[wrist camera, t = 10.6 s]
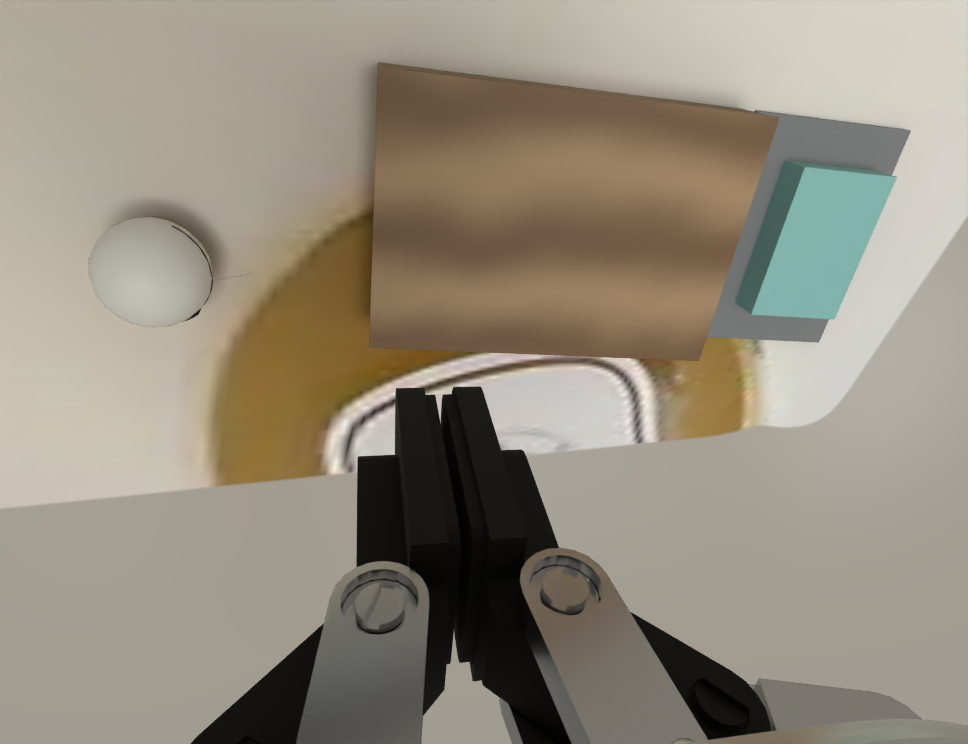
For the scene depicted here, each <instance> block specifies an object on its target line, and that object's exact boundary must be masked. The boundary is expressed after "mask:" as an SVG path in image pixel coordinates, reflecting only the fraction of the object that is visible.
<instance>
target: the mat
mask: <svg viewBox="0 0 968 744" xmlns="http://www.w3.org/2000/svg"><path fill="white" fill-rule="evenodd" d="M755 112H757V113H761V114H766V115H770V116H775V117H779V118H780V119H779V122H778V125H777V128H776V131H775V134H774V137H773V140H772V143H771V146H770V149H769V152H768V155H767V158H766V161H765V164H764V167H763V170H762V173H761V176H760V179H759V182H758V185H757V188H756V191H755V194H754V197H753V200H752V203H751V206H750V209H749V212H748V215H747V218H746V221H745V224H744V227H743V230H742V233H741V236H740V239H739V242H738V245H737V248H736V251H735V254H734V257H733V260H732V263H731V266H730V269H729V272H728V275H727V278H726V281H725V284H724V287H723V290H722V293H721V296H720V299H719V302H718V305H717V308H716V311H715V314H714V317H713V320H712V323H711V326H710V329H709V332H708V335H707V337H719V338H740V339H760V340H781V341H801V342H819V341H820V338H821V336H822V334H823V332H824V329H825V327H826V325H827V322H828V320H829V319H819V318H801V317H784V316H766V315H751V314H750V313H748V312H747V311H746V310H745V309H743V308H742V307H741V306H739V305H738V304H737V303H736V302H735V301H736V298H737V296H738V293H739V290H740V287H741V284H742V281H743V278H744V275H745V272H746V270H747V267H748V264H749V261H750V258H751V255H752V252H753V249H754V247H755V244H756V241H757V238H758V235H759V232H760V229H761V226H762V223H763V221H764V218H765V215H766V212H767V209H768V206H769V203H770V200H771V198H772V195H773V192H774V189H775V186H776V183H777V180H778V177H779V174H780V172H781V169H782V166H783V163H784V160H786V161H795V162H804V163H813V164H822V165H831V166H840V167H849V168H858V169H867V170H874V171H877V172H881V173H884V174H888V175H892V173H893V171H894V168H895V166H896V164H897V161H898V159H899V157H900V155H901V152H902V150H903V148H904V145H905V143H906V141H907V138H908V136H909V134H910V132H911V131H910V130H904V129H896V128H888V127H880V126H872V125H864V124H856V123H849V122H841V121H833V120H825V119H817V118H809V117H802V116H794V115H786V114H778V113H770V112H762V111H755Z"/></svg>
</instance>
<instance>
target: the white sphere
mask: <svg viewBox="0 0 968 744" xmlns="http://www.w3.org/2000/svg"><path fill="white" fill-rule="evenodd" d="M252 274H253V273H252ZM248 275H249V274H248ZM241 276H244V275H241ZM89 277H90V280H91V282H92V285H93V288H94V291H95V294H96V295H97V297H98V298H99V300H100V301H101V302H102V304H103V305H104V306H105V307H106V308H107V309H108V310H109V311H111V312H112V313H113V314H114V315H116V316H117V317H119V318H121V319H123V320H125V321H127V322H129V323H132V324H136V325H141V326H146V327H167V326H173V325H175V324H178V323H181V322H184V321H187V320H189V319H191V318H194V317H195V316H197V315H198V314H199V312H200V310H201V308H202V307H203V306H204V304H205V303H206V301H207V300H208V298H209V296H210V293H211V289H212V282H213V280H212V278H213V270H212V265H211V261H210V257H209V255H208V254H207V252H206V250H205V249H204V247H203V245H202V244H201V242H199V241H198V240H197V239H196V238H195V237H194V236H193V235H192V234H191V233H190V232H189V231H188V230H186V229H184V228H182V227H181V226H179V225H177V224H175V223H173V222H171V221H167V220H163V219H159V218H155V217H142V218H133V219H129V220H127V221H124V222H121V223H118V224H116V225H113V226H111V227H110V228H109V229H108V230H107V231H106V232H105V233H104V234H102V235H101V236H100V237H99V239H98V240H97V242H96V244H95V246H94V248H93V250H92V252H91V255H90V257H89ZM235 277H238V276H235ZM230 278H232V277H230ZM226 279H228V278H226ZM218 280H222V279H218Z"/></svg>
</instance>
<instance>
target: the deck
mask: <svg viewBox="0 0 968 744" xmlns="http://www.w3.org/2000/svg"><path fill="white" fill-rule="evenodd" d="M779 119H780V118H779V117H775V116H770V115H766V114H761V113H757V112H752V111H748V110H744V109H739V108H731V107H723V106H715V105H707V104H700V103H692V102H684V101H676V100H668V99H660V98H652V97H645V96H637V95H629V94H621V93H613V92H605V91H598V90H590V89H582V88H574V87H566V86H558V85H550V84H543V83H535V82H527V81H519V80H511V79H503V78H496V77H488V76H480V75H472V74H464V73H456V72H448V71H441V70H433V69H425V68H417V67H409V66H401V65H394V64H386V63H379V64H378V84H377V116H376V148H375V180H374V212H373V244H372V276H371V309H370V341H369V348H390V349H415V350H440V351H464V352H489V353H514V354H539V355H563V356H588V357H613V358H638V359H662V360H687V361H699V359H700V356H701V353H702V350H703V347H704V344H705V341H706V338H707V335H708V332H709V329H710V326H711V323H712V320H713V317H714V314H715V311H716V308H717V305H718V302H719V299H720V296H721V293H722V290H723V287H724V284H725V281H726V278H727V275H728V272H729V269H730V266H731V263H732V260H733V257H734V254H735V251H736V248H737V245H738V242H739V239H740V236H741V233H742V230H743V227H744V224H745V221H746V218H747V215H748V212H749V209H750V206H751V203H752V200H753V197H754V194H755V191H756V188H757V185H758V182H759V179H760V176H761V173H762V170H763V167H764V164H765V161H766V158H767V155H768V152H769V149H770V146H771V143H772V140H773V137H774V134H775V131H776V128H777V125H778V122H779Z"/></svg>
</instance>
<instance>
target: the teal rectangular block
mask: <svg viewBox="0 0 968 744" xmlns="http://www.w3.org/2000/svg"><path fill="white" fill-rule="evenodd" d="M896 178H897V177H895V176H891V175H888V174H884V173H881V172H877V171H874V170H867V169H858V168H849V167H840V166H831V165H822V164H813V163H804V162H795V161H786V160H784V163H783V166H782V169H781V172H780V174H779V177H778V180H777V183H776V186H775V189H774V192H773V195H772V198H771V200H770V203H769V206H768V209H767V212H766V215H765V218H764V221H763V223H762V226H761V229H760V232H759V235H758V238H757V241H756V244H755V247H754V249H753V252H752V255H751V258H750V261H749V264H748V267H747V270H746V272H745V275H744V278H743V281H742V284H741V287H740V290H739V293H738V296H737V298H736V301H735V302H736V303H737V304H738V305H739V306H741V307H742V308H743V309H745V310H746V311H747V312H748V313H750V314H751V315H766V316H784V317H801V318H819V319H835V317H836V314H837V312H838V310H839V308H840V305H841V303H842V301H843V299H844V296H845V294H846V292H847V289H848V287H849V285H850V283H851V280H852V278H853V276H854V274H855V271H856V269H857V267H858V264H859V262H860V260H861V258H862V255H863V253H864V251H865V248H866V246H867V244H868V242H869V239H870V237H871V235H872V233H873V230H874V228H875V226H876V223H877V221H878V219H879V217H880V214H881V212H882V210H883V208H884V205H885V203H886V201H887V198H888V196H889V194H890V192H891V189H892V187H893V185H894V183H895V180H896Z"/></svg>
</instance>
